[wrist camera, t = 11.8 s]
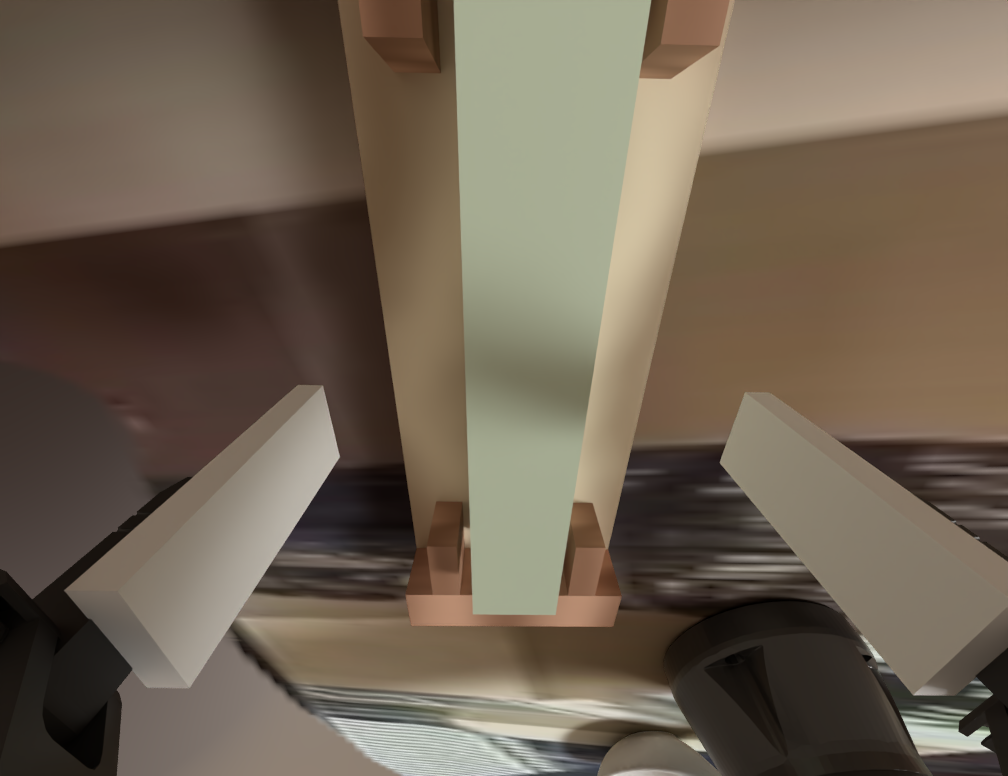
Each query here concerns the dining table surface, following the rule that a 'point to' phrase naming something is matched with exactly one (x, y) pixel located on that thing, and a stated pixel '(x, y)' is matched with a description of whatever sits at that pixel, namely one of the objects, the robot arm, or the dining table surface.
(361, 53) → the slat cradle
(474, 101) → the slat
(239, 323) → the dining table surface
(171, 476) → the dining table surface
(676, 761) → the spoon rest
